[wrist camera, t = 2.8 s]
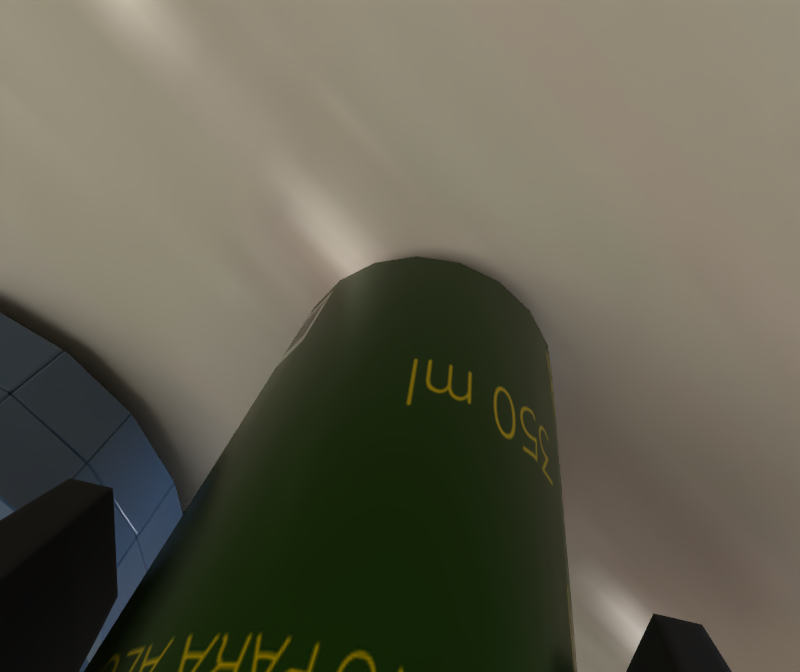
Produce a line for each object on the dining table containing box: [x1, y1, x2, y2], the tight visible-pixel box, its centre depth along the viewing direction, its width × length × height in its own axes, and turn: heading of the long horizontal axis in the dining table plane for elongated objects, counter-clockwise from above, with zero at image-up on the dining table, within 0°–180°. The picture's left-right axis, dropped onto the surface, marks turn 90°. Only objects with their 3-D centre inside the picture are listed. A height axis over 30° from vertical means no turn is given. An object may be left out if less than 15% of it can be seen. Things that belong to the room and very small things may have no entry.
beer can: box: [84, 257, 577, 672], centre depth 10 cm, size 5×5×12 cm
